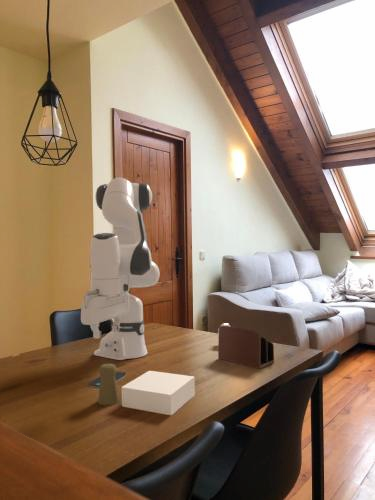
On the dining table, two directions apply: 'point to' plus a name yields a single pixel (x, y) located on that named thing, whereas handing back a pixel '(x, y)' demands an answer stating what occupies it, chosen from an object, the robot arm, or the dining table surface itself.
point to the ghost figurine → (222, 325)
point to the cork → (108, 385)
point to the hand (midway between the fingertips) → (106, 334)
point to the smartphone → (97, 381)
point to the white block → (158, 392)
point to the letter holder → (244, 347)
